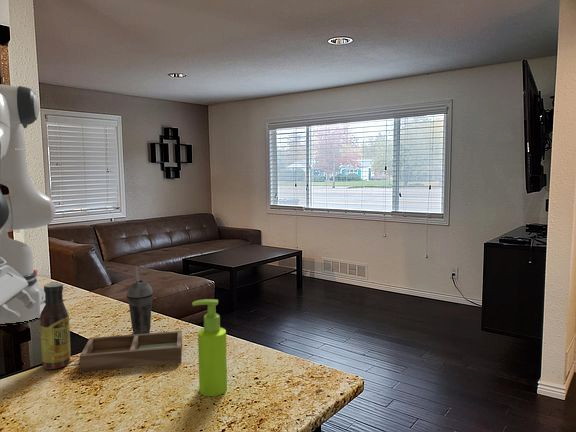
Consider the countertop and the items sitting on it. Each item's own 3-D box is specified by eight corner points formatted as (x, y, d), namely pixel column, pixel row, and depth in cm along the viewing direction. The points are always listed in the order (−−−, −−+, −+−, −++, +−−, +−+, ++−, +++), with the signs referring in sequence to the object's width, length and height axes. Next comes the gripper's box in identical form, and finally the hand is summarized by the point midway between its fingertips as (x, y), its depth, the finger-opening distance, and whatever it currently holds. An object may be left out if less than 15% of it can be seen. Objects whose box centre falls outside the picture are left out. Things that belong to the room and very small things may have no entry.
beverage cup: (160, 330, 129) (157, 263, 127) (144, 340, 122) (141, 269, 120) (139, 327, 132) (136, 262, 129) (122, 336, 125) (119, 267, 122)
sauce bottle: (59, 372, 104) (53, 289, 101) (35, 369, 105) (30, 288, 103) (77, 360, 110) (73, 282, 108) (55, 357, 111) (50, 280, 109)
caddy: (90, 352, 114) (89, 337, 114) (182, 345, 119) (181, 330, 119) (80, 372, 104) (79, 356, 103) (181, 363, 109) (180, 347, 108)
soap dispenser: (196, 383, 99) (194, 296, 96) (227, 382, 99) (226, 295, 97) (192, 397, 93) (190, 305, 90) (226, 396, 93) (224, 304, 91)
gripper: (-37, 275, 92) (19, 317, 95) (4, 255, 111) (49, 291, 115) (-59, 297, 91) (-2, 339, 94) (-14, 274, 111) (31, 308, 114)
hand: (26, 312), depth 105 cm, fingers open, 8 cm apart
